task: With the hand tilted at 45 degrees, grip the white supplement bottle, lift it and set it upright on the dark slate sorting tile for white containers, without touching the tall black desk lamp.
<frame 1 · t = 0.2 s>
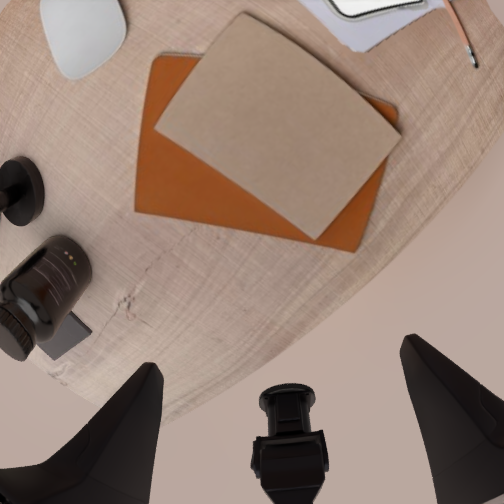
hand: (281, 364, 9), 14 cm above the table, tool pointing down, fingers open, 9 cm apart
supplement bottle: (68, 261, 24), on the table
slate tile: (48, 325, 29), on the table
desk lamp: (22, 189, 20), on the table
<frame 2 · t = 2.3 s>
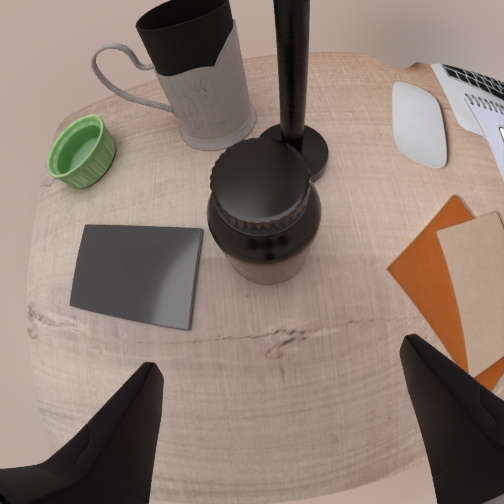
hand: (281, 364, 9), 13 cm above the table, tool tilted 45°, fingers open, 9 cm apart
ramekin: (92, 162, 30), on the table
supplement bottle: (269, 247, 24), on the table
slate tile: (129, 271, 25), on the table
glass holder: (194, 125, 29), on the table
desk lamp: (291, 157, 26), on the table
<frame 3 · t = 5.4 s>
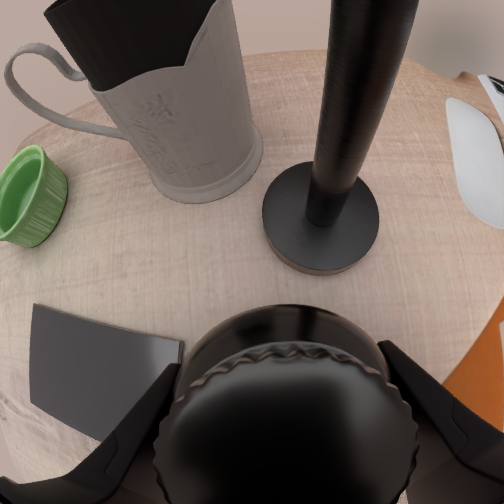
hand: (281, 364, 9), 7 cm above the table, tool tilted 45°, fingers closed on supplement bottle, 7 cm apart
ramekin: (42, 208, 20), on the table
supplement bottle: (282, 372, 15), on the table, touching gripper
slate tile: (90, 381, 15), on the table
glass holder: (170, 158, 20), on the table
desk lamp: (319, 220, 17), on the table
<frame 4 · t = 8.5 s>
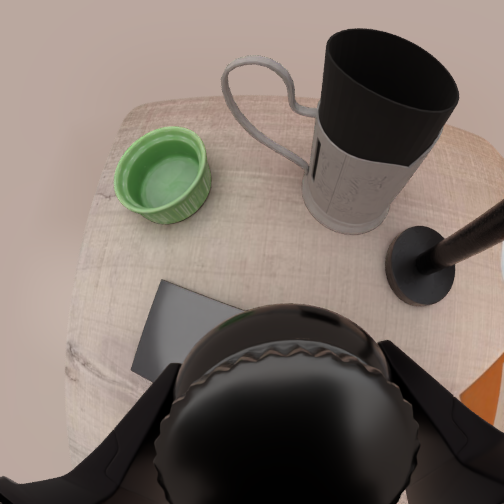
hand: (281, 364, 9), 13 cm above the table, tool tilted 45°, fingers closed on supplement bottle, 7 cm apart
ramekin: (174, 188, 26), on the table
supplement bottle: (282, 372, 15), point 7 cm above the table, touching gripper
slate tile: (218, 357, 22), on the table
glass holder: (319, 186, 25), on the table
desk lamp: (418, 267, 22), on the table
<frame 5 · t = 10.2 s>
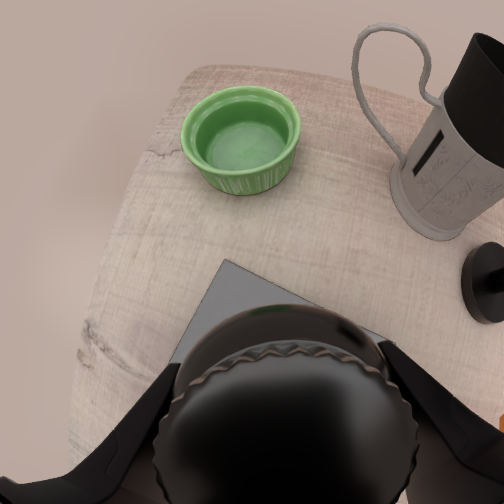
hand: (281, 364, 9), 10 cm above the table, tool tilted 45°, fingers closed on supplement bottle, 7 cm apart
ramekin: (246, 157, 23), on the table
supplement bottle: (282, 371, 15), point 3 cm above the table, touching gripper
slate tile: (282, 360, 18), on the table
glass holder: (405, 183, 21), on the table
desk lamp: (487, 284, 17), on the table
when the fingers open (7 cm above the table, at t = 11.6 s): supplement bottle stays where it is, resting on slate tile.
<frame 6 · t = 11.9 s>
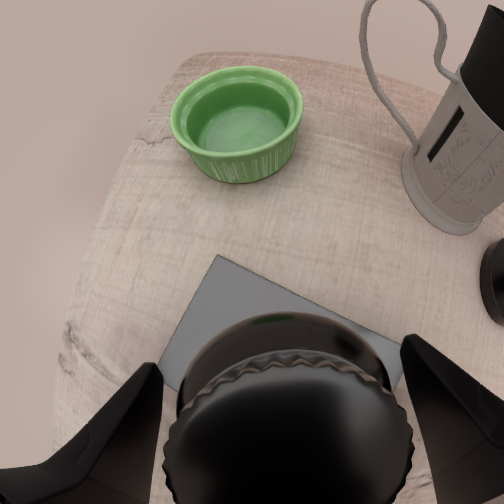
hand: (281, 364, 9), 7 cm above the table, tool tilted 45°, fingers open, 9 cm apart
ramekin: (243, 143, 20), on the table
supplement bottle: (283, 374, 15), resting on slate tile
slate tile: (283, 371, 16), on the table
glass holder: (418, 173, 18), on the table
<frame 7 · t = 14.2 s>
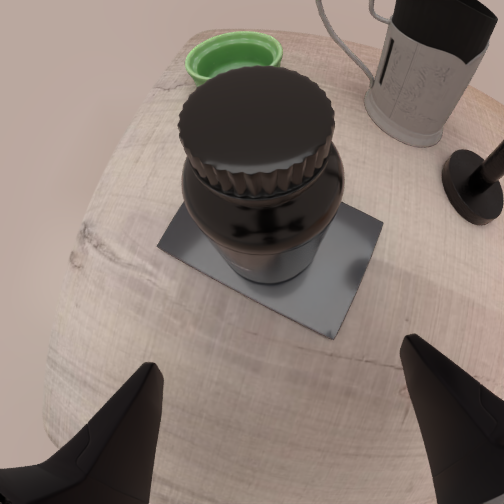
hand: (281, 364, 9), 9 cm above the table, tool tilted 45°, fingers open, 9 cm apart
ramekin: (239, 86, 24), on the table
supplement bottle: (269, 236, 19), resting on slate tile
slate tile: (270, 236, 19), on the table
glass holder: (379, 104, 22), on the table
desk lamp: (470, 189, 19), on the table
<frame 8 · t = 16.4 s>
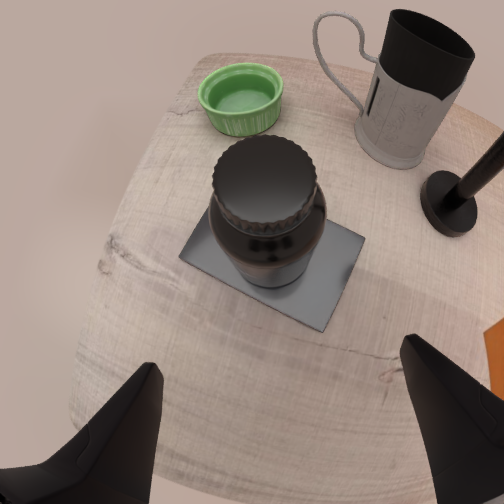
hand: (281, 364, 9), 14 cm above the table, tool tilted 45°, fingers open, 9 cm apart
ramekin: (245, 113, 29), on the table
supplement bottle: (271, 249, 24), resting on slate tile
slate tile: (272, 249, 24), on the table
glass holder: (368, 130, 27), on the table
desk lamp: (446, 205, 23), on the table
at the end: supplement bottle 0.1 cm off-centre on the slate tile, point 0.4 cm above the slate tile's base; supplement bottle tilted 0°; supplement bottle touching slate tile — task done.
